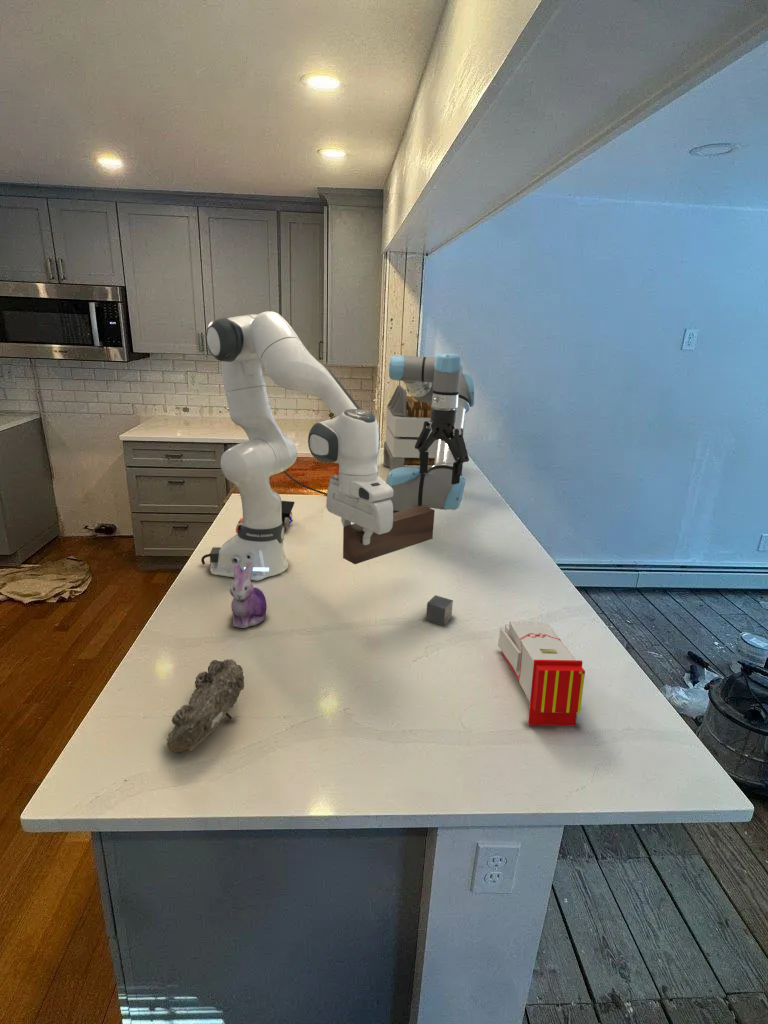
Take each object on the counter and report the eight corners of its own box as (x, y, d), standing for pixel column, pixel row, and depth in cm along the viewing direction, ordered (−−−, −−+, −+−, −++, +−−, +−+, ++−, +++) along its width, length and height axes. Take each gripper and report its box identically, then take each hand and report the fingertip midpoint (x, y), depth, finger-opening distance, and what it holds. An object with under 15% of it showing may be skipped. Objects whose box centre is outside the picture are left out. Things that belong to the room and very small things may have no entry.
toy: (544, 607, 134) (594, 667, 105) (539, 659, 137) (586, 732, 108) (493, 606, 134) (529, 666, 105) (489, 658, 137) (523, 731, 107)
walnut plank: (342, 558, 134) (343, 526, 131) (420, 533, 151) (422, 505, 148) (354, 564, 131) (355, 532, 128) (432, 538, 147) (434, 509, 145)
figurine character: (290, 537, 196) (295, 517, 209) (289, 518, 192) (295, 499, 206) (270, 536, 195) (277, 517, 209) (269, 517, 192) (276, 498, 206)
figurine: (235, 633, 135) (232, 576, 130) (225, 613, 144) (222, 559, 139) (273, 625, 139) (272, 570, 134) (262, 606, 148) (260, 553, 143)
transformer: (382, 463, 289) (386, 382, 275) (445, 464, 293) (451, 384, 279) (390, 482, 257) (394, 392, 243) (460, 483, 261) (468, 394, 247)
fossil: (192, 660, 117) (244, 628, 112) (224, 691, 120) (276, 661, 115) (142, 746, 98) (202, 712, 93) (182, 779, 101) (242, 748, 96)
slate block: (425, 620, 145) (427, 602, 144) (433, 611, 149) (435, 594, 148) (443, 625, 143) (445, 608, 141) (451, 617, 147) (453, 600, 145)
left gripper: (319, 474, 133) (320, 529, 138) (377, 497, 119) (375, 557, 123) (341, 470, 137) (340, 524, 142) (399, 491, 123) (396, 550, 127)
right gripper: (406, 402, 172) (402, 470, 179) (468, 416, 155) (461, 490, 162) (423, 401, 177) (419, 466, 184) (485, 414, 159) (478, 486, 167)
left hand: (357, 539), depth 132 cm, fingers closed on walnut plank, 4 cm apart
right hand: (438, 478), depth 173 cm, fingers open, 13 cm apart
